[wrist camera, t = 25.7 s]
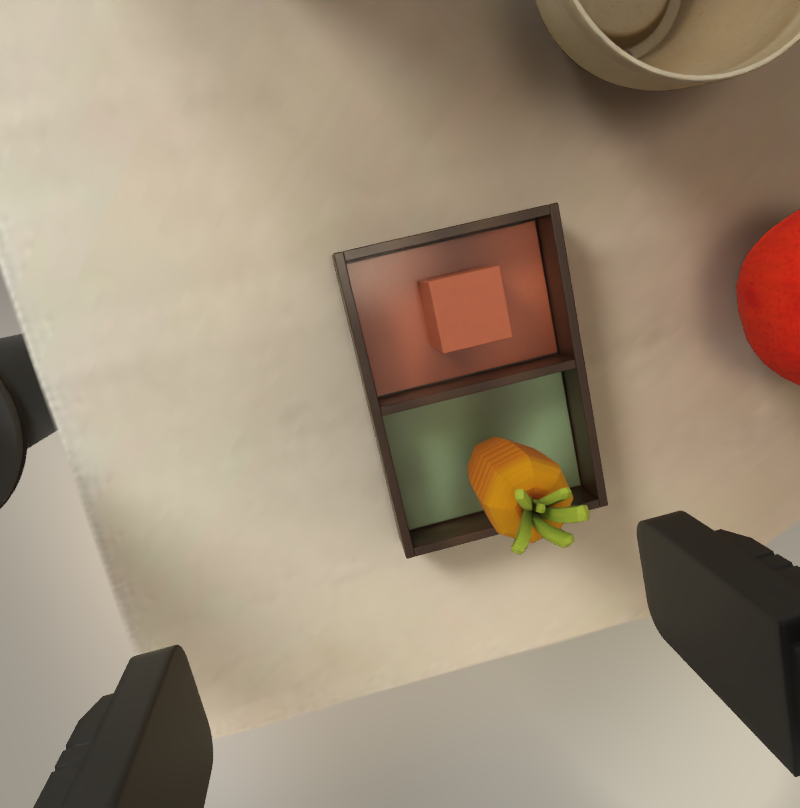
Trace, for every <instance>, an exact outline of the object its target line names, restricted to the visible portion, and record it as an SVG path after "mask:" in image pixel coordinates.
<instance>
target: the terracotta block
mask: <svg viewBox="0 0 800 808" xmlns="http://www.w3.org/2000/svg"><path fill="white" fill-rule="evenodd" d="M418 283H419V288H420V293H421V297H422V302H423V307H424V311H425V316H426V321H427V325H428V330H429V335H430V339H431V344H432V347H433V348H435V349H437V350H438V351H440V352H441V353H443V354H446V353H450V352H454V351H458V350H462V349H467V348H471V347H475V346H479V345H483V344H487V343H491V342H496V341H500V340H504V339H508V338H512V337H513V335H512V330H511V325H510V319H509V314H508V308H507V303H506V298H505V292H504V287H503V282H502V276H501V271H500V266H499V265H496V266H480V267H476V268H472V269H467V270H463V271H459V272H454V273H450V274H446V275H442V276H437V277H433V278H429V279H424V280H420V281H418Z"/></svg>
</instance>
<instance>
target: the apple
mask: <svg viewBox="0 0 800 808" xmlns="http://www.w3.org/2000/svg"><path fill="white" fill-rule="evenodd" d="M736 287H737V301H738V312H739V315H740V318H741V322H742V325H743V328H744V332H745V335H746V338H747V341H748V342H749V344H750V345H751V347H752V349H753V350H754V352H755V353H756V354H757V356H758V357H759V358H760V359H761V361H762V362H763V363H764V364H765V365H767V366H768V367H769V368H771V369H772V370H773V371H775V372H776V373H777V374H779V375H780V376H781V377H783V378H785V379H787V380H789V381H792V382H794V383H796V384H798V385H800V210H797V211H796V212H794V213H793V214H791V215H790V216H788V217H787V218H785V219H784V220H783V221H781V222H780V223H778V224H777V225H775V226H774V227H772V228H771V229H770V230H769V231H768V232H767V233H765V234H764V235H763V236H762V238H761V239H760V240H759V241H758V242H757V243H756V244H755V245H754V247H753V248H752V249H751V250H750V251H749V252H748V254H747V256H746V258H745V260H744V262H743V264H742V266H741V270H740V274H739V278H738V282H737V286H736Z"/></svg>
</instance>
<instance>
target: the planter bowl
mask: <svg viewBox="0 0 800 808" xmlns="http://www.w3.org/2000/svg"><path fill="white" fill-rule="evenodd" d="M535 1H536V4H537V7H538V9H539V12H540V15H541V17H542V19H543V21H544V23H545V25H546V27H547V29H548V30H549V32H550V34H551V35H552V37H553V38H554V40H555V41H556V42H557V44H558V45H559V46H560V47H561V48H562V50H563V51H564V52H565V53H566V54H567V55H568V56H569V57H570V58H571V59H572V60H573V61H575V62H576V63H577V64H578V65H580V66H581V67H582V68H584V69H585V70H587V71H588V72H590V73H592V74H593V75H595V76H597V77H599V78H601V79H603V80H605V81H608V82H611V83H613V84H617V85H620V86H624V87H628V88H634V89H641V90H673V89H682V88H687V87H693V86H697V85H701V84H705V83H711V82H717V81H721V80H726V79H730V78H733V77H737V76H739V75H742V74H745V73H747V72H750V71H752V70H755V69H757V68H759V67H761V66H763V65H765V64H767V63H769V62H770V61H772V60H774V59H775V58H777V57H778V56H780V55H781V54H782V53H784V52H785V51H786V50H788V49H789V48H790V47H791V46H792V45H794V44H795V43H796V42H797V41H798V40H799V39H800V0H535Z"/></svg>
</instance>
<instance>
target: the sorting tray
mask: <svg viewBox="0 0 800 808" xmlns="http://www.w3.org/2000/svg"><path fill="white" fill-rule="evenodd" d="M332 258H333V262H334V267H335V271H336V275H337V279H338V283H339V287H340V292H341V296H342V300H343V304H344V308H345V312H346V316H347V321H348V325H349V329H350V333H351V337H352V341H353V346H354V350H355V354H356V358H357V362H358V366H359V371H360V375H361V379H362V383H363V387H364V391H365V395H366V400H367V404H368V408H369V412H370V416H371V420H372V425H373V429H374V433H375V437H376V441H377V445H378V450H379V454H380V458H381V462H382V466H383V470H384V474H385V479H386V483H387V487H388V491H389V495H390V499H391V504H392V508H393V512H394V516H395V520H396V524H397V529H398V533H399V537H400V540H401V543H402V546H403V549H404V553H405V556H406V558H411V557H415V556H418V555H422V554H426V553H430V552H434V551H437V550H441V549H445V548H449V547H452V546H456V545H460V544H464V543H467V542H471V541H475V540H479V539H482V538H486V537H490V536H494V535H497V534H499V533H498V532H497V531H496V530H495V528H494V527H493V525H492V524H491V522H490V520H489V519H488V517H487V515H486V513H485V511H484V510H483V508H482V506H481V504H480V502H479V500H478V497H477V495H476V493H475V491H474V489H473V487H472V485H471V483H470V481H469V476H468V463H469V460H470V458H471V455H472V452H473V449H474V447H475V446H476V445H477V444H479V443H481V442H483V441H485V440H487V439H489V438H492V437H500V438H504V439H507V440H510V441H513V442H516V443H520V444H523V445H526V446H529V447H532V448H534V449H536V450H538V451H539V452H541V453H543V454H545V455H546V456H547V457H549V458H550V459H552V460H553V461H555V462H556V463H558V465H559V466H560V468H561V470H562V473H563V475H564V477H565V479H566V482H567V484H568V486H569V488H570V490H571V493H572V495H573V500H572V503H571V505H570V506H578V505H587V507H588V509H589V510H592V509H595V508H599V507H603V506H607V505H608V502H607V496H606V490H605V484H604V478H603V472H602V465H601V459H600V453H599V447H598V441H597V435H596V429H595V423H594V417H593V411H592V405H591V399H590V393H589V387H588V381H587V375H586V369H585V363H584V357H583V351H582V345H581V339H580V333H579V326H578V320H577V314H576V308H575V302H574V296H573V290H572V284H571V278H570V272H569V266H568V260H567V254H566V248H565V242H564V236H563V230H562V224H561V218H560V212H559V206H558V203H553V204H549V205H544V206H540V207H535V208H531V209H527V210H522V211H518V212H514V213H509V214H505V215H500V216H496V217H492V218H487V219H483V220H478V221H474V222H470V223H465V224H461V225H456V226H452V227H448V228H443V229H439V230H435V231H430V232H426V233H421V234H417V235H413V236H408V237H404V238H399V239H395V240H391V241H386V242H382V243H378V244H373V245H369V246H364V247H360V248H356V249H351V250H347V251H343V252H338V253H334V254H333V255H332ZM496 265H499V266H500V271H501V276H502V282H503V287H504V292H505V298H506V303H507V308H508V314H509V319H510V325H511V330H512V335H513V337H512V338H508V339H504V340H500V341H496V342H491V343H487V344H483V345H479V346H475V347H471V348H467V349H462V350H458V351H454V352H450V353H446V354H443V353H441V352H440V351H438V350H437V349H435V348H433V347H432V344H431V339H430V335H429V330H428V325H427V321H426V316H425V311H424V307H423V302H422V297H421V293H420V288H419V283H418V281H420V280H424V279H429V278H433V277H437V276H442V275H446V274H450V273H454V272H459V271H463V270H467V269H472V268H476V267H480V266H496Z"/></svg>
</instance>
